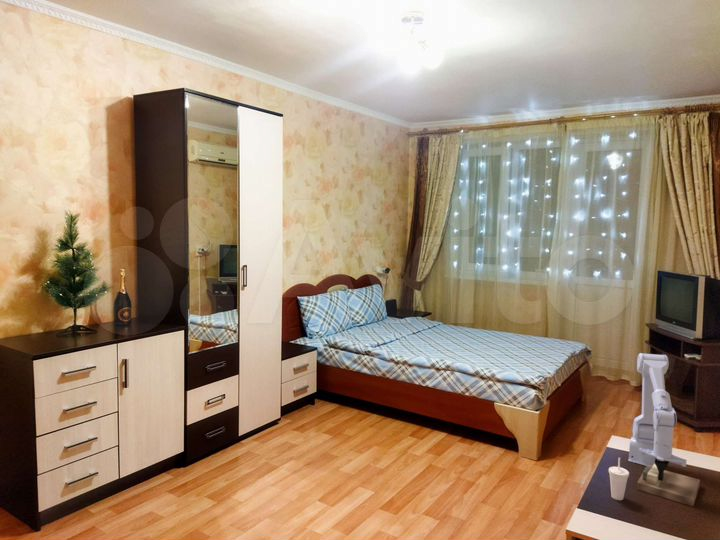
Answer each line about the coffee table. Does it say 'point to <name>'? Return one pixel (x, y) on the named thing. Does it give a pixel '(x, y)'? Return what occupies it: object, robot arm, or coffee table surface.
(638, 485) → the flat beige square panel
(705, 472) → the coffee table surface
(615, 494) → the smoothie
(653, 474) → the hinged leg
